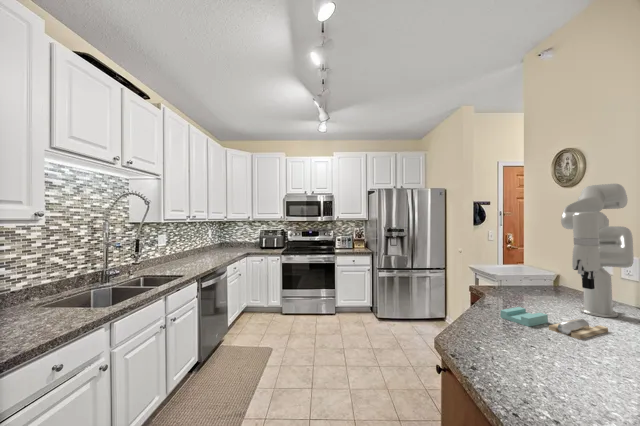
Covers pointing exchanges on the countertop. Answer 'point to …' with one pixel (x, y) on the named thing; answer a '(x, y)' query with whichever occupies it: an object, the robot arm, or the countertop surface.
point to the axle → (573, 326)
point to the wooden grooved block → (582, 331)
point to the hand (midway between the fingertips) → (588, 288)
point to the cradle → (524, 316)
